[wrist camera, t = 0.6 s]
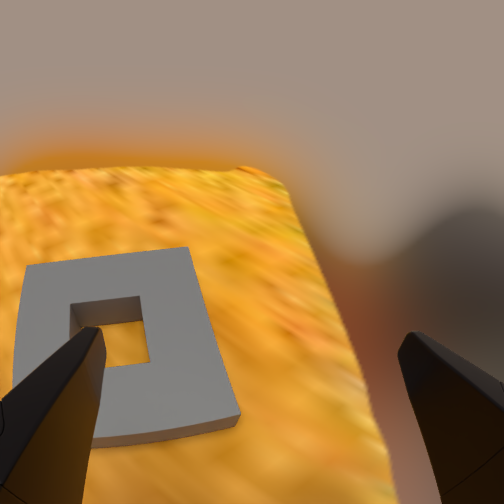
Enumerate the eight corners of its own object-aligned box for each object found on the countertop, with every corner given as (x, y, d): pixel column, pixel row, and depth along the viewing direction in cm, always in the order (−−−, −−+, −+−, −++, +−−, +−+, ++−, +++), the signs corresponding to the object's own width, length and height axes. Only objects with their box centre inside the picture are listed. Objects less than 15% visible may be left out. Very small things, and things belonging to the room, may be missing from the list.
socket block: (234, 426, 20) (240, 413, 18) (35, 449, 15) (14, 438, 12) (187, 272, 31) (188, 246, 28) (37, 289, 25) (26, 265, 23)
